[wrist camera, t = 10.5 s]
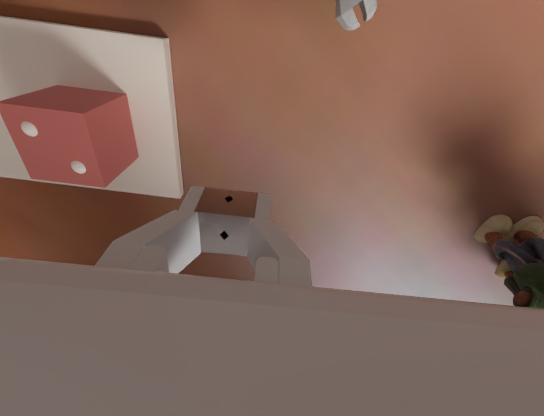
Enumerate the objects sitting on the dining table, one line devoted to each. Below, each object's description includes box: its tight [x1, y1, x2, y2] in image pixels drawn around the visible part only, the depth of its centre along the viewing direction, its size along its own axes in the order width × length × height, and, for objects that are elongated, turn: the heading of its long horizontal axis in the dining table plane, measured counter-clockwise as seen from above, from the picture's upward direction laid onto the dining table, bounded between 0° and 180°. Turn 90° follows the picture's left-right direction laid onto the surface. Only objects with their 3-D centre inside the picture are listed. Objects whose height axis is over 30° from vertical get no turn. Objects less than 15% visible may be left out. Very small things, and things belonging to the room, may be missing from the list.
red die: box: [0, 85, 139, 188], centre depth 15 cm, size 4×4×4 cm
